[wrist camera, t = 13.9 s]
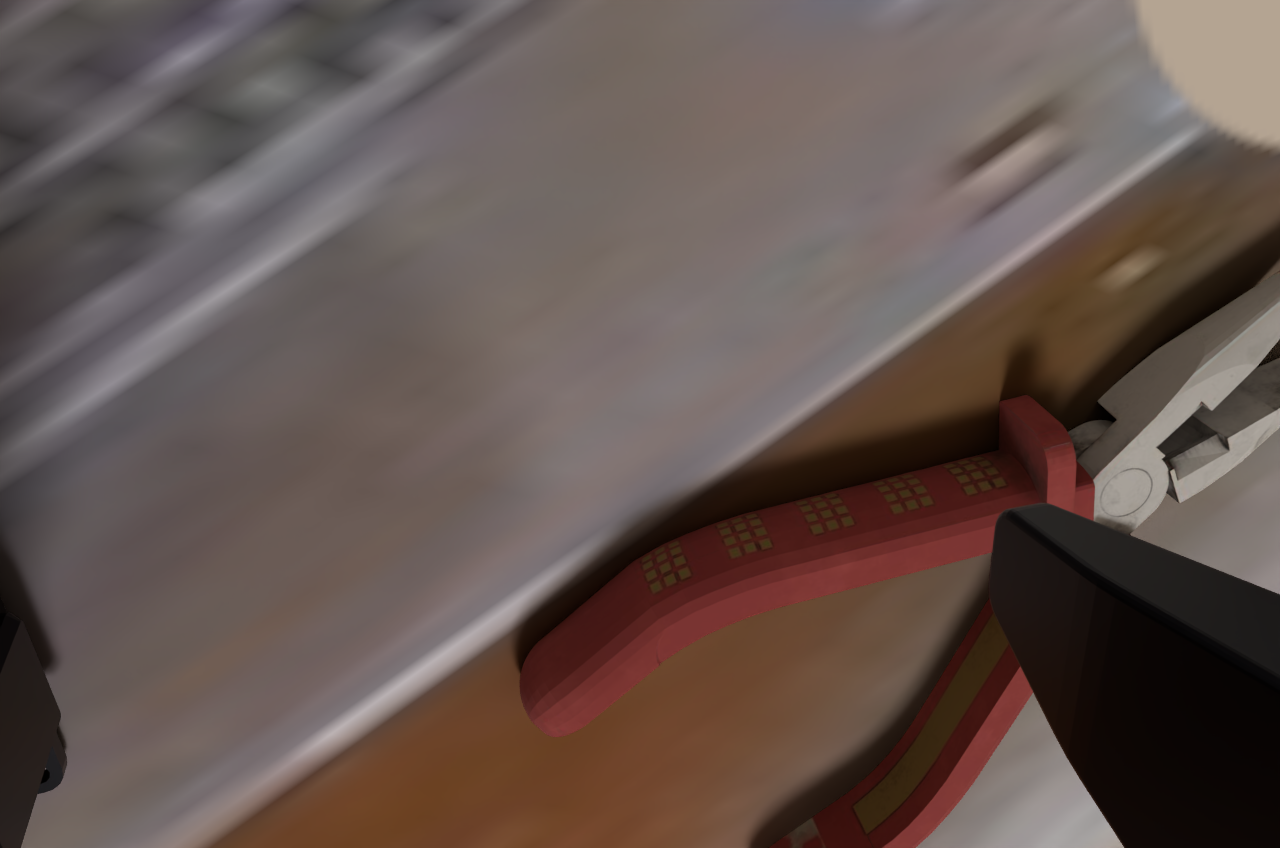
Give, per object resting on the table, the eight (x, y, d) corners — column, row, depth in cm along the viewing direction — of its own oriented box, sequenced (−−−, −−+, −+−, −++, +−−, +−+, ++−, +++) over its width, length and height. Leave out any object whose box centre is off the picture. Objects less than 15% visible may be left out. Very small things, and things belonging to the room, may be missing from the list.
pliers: (1407, 414, 29) (1497, 466, 26) (768, 872, 31) (800, 955, 29) (1248, 48, 23) (1345, 75, 21) (489, 646, 26) (501, 726, 24)
